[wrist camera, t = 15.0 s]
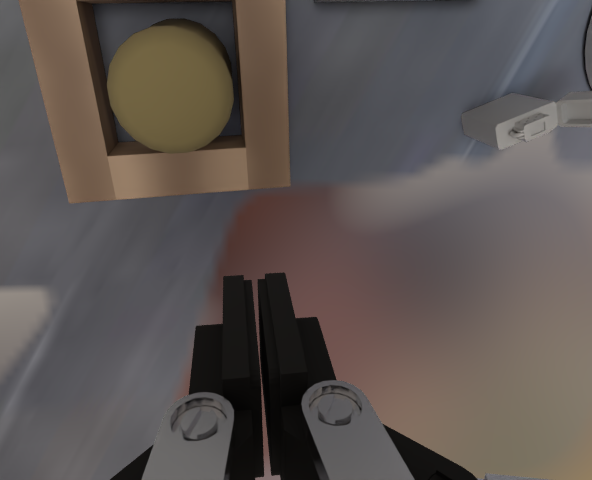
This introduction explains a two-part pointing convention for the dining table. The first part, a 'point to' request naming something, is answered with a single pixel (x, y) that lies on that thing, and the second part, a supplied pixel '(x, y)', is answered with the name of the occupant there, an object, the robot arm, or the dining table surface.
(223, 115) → the cork
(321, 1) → the grey square frame
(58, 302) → the dining table surface
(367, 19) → the dining table surface
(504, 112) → the lighter
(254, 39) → the socket block
